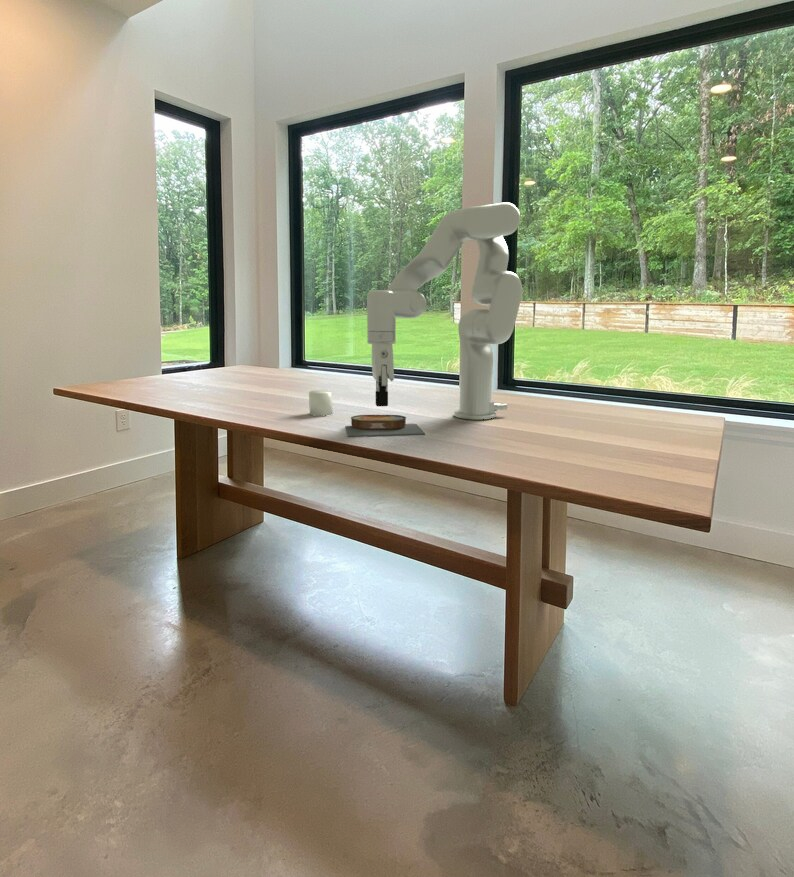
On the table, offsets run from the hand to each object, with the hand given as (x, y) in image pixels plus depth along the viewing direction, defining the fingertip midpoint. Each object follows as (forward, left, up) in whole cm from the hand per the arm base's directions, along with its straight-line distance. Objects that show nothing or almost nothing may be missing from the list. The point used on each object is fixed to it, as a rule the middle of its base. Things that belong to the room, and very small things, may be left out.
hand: (381, 405), depth 161 cm
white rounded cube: (+16, -22, -6) cm, 28 cm away
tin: (0, -4, -5) cm, 6 cm away
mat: (0, +4, -6) cm, 8 cm away
